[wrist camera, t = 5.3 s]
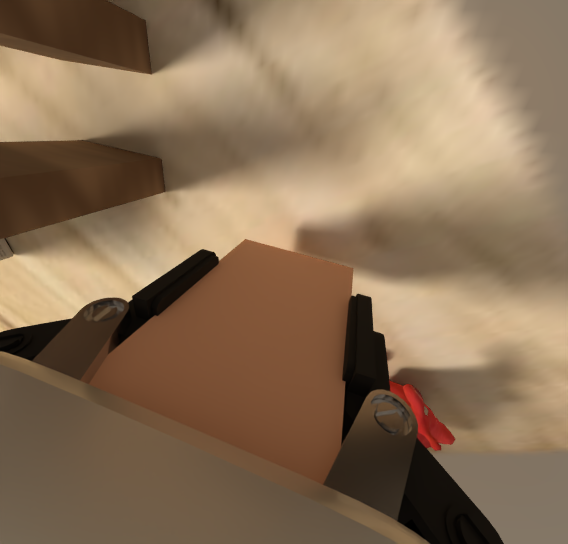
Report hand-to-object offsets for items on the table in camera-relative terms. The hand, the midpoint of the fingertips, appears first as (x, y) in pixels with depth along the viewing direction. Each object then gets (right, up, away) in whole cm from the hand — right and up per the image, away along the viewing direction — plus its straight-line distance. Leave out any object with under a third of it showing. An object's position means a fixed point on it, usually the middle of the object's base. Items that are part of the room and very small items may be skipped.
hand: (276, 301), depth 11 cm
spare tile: (+1, +1, +3) cm, 3 cm away
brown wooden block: (-10, +8, +5) cm, 14 cm away
